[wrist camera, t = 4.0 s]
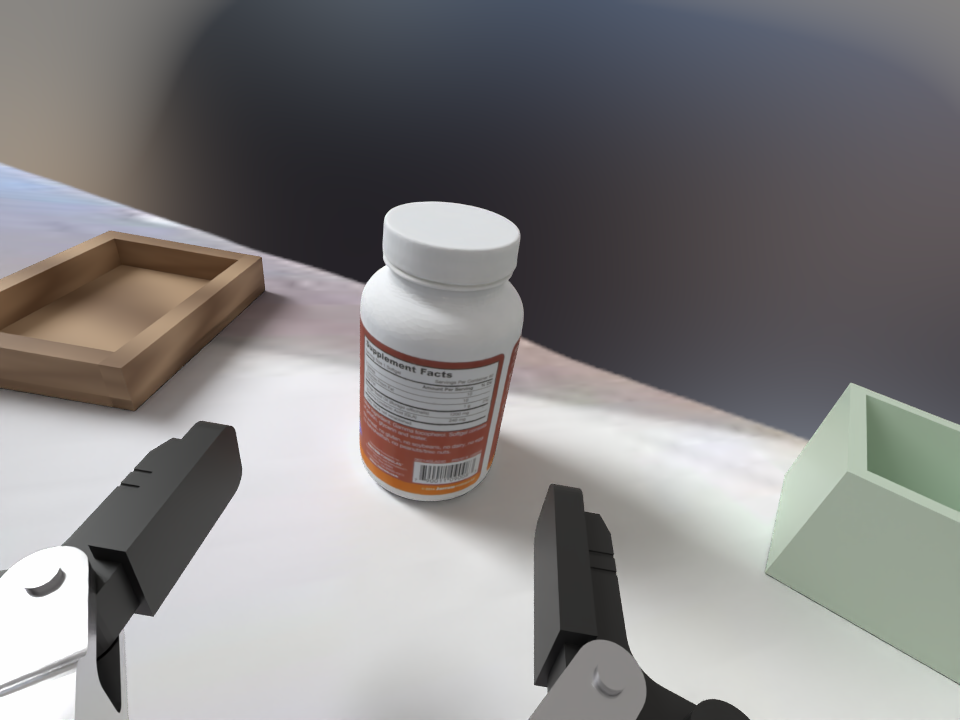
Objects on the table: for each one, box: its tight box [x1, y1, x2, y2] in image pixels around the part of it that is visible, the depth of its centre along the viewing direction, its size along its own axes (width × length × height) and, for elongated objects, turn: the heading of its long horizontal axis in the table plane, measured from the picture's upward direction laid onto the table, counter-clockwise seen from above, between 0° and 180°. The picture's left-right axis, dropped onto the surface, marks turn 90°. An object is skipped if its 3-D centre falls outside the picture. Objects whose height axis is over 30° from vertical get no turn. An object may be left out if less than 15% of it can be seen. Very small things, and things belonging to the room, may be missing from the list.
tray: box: [0, 231, 265, 411], centre depth 27 cm, size 13×10×2 cm
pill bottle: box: [360, 202, 523, 501], centre depth 20 cm, size 6×6×11 cm
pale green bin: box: [765, 383, 960, 684], centre depth 19 cm, size 7×7×6 cm
